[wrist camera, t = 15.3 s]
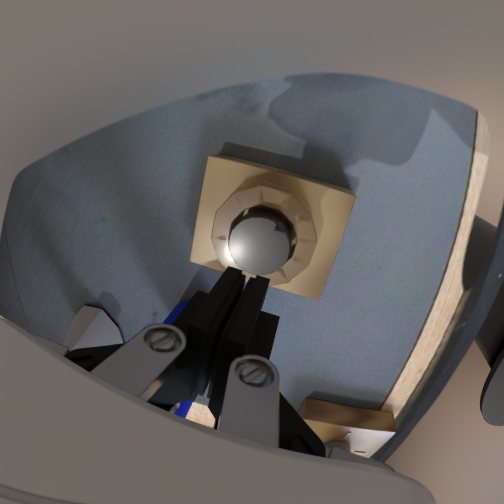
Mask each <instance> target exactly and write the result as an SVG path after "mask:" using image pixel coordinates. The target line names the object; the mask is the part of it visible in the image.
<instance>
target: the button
mask: <svg viewBox="0 0 504 504" xmlns="http://www.w3.org/2000/svg"><path fill="white" fill-rule="evenodd" d="M291 244H292V233H291V230H290V227H289V225H288V223H287V222H286V221H285V219H284V218H283V217H281V216H280V215H279V214H277V213H275V212H273V211H270V210H255V211H252V212H249V213H248V214H246V215H245V216H244V217H242V219H241V220H240V221H239V222H238V223H237V224H236V225H235V227H234V228H233V229H232V231H231V233H230V236H229V240H228V247H229V252H230V255H231V257H232V259H233V261H234V262H235V263H236V264H237V265H238V266H239V267H240V268H241V269H242V270H244V271H246V272H248V273H251V274H254V275H268V274H271V273H274V272H276V271H278V270H279V269H280V268H281V267H282V266H283V265H284V264H285V263H286V261H287V259H288V257H289V253H290V248H291Z"/></svg>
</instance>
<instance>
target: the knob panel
mask: <svg viewBox="0 0 504 504" xmlns="http://www.w3.org/2000/svg"><path fill="white" fill-rule="evenodd" d="M297 413H298V414H299V415H300V416H301V418H302V419H303V420H304V421H305V422H306V423H307V424H308V425H309V427H310V428H311V429H312V430H313V431H314V432H315V433H316V434H317V435H318V437H319V438H320V439H321V440H322V442H323V443H327V442H334V441H339V442H345V443H347V444H349V445H350V446H351V453H354V454H357V455H360V456H363V457H366V458H369V457H370V456H371V455H373V454H374V453H375V452H376V451H377V450H378V449H379V448H380V447H381V446H382V445H384V444H385V443H386V442H387V441H388V440H389V439H390V438H391V437H392V436H393V435H394V434H395V433H396V427H395V420H394V414H393V413H392V412H384V411H376V410H370V409H363V408H357V407H351V406H345V405H340V404H335V403H329V402H325V401H320V400H315V399H310V398H306V399H305V401H304V402H303V404H302V406H301V407H300V409H299V410H298V412H297Z"/></svg>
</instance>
